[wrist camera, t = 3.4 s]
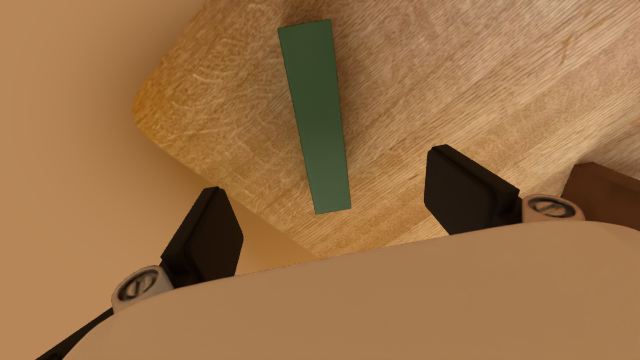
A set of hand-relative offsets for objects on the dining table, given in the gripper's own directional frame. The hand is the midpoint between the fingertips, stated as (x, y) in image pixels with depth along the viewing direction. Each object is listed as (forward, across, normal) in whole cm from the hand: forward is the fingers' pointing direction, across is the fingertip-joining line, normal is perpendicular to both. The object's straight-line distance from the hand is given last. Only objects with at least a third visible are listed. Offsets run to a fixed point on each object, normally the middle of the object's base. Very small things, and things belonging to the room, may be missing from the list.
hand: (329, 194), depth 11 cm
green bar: (+11, 0, 0) cm, 11 cm away
